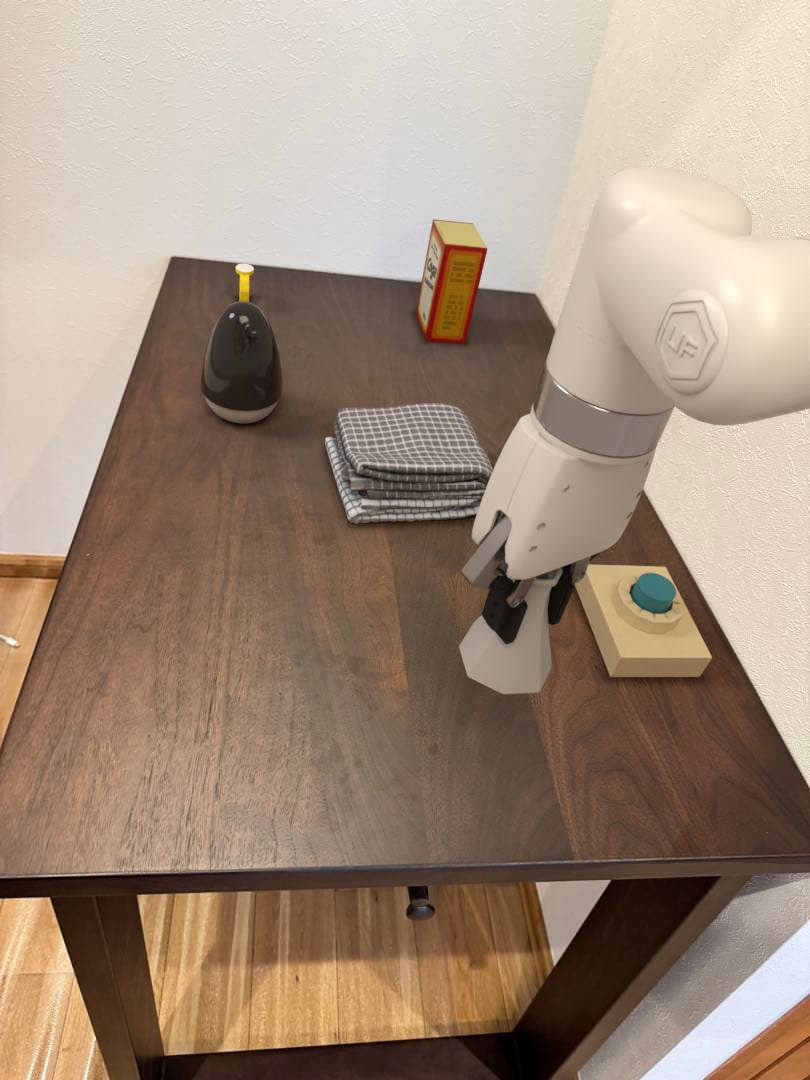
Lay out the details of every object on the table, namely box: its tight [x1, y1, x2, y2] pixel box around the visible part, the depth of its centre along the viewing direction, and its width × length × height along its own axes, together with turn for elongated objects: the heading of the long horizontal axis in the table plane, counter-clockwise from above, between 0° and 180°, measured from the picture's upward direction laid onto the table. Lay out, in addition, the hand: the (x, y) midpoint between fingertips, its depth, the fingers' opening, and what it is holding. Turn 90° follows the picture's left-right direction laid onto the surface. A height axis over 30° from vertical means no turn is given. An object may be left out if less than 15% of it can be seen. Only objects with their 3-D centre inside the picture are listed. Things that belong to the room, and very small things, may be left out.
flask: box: [458, 567, 563, 695], centre depth 57 cm, size 7×7×10 cm
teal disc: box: [631, 573, 676, 614], centre depth 81 cm, size 4×4×2 cm
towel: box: [324, 402, 494, 525], centre depth 94 cm, size 15×18×8 cm
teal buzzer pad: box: [574, 563, 713, 678], centre depth 83 cm, size 13×10×5 cm
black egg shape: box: [200, 300, 284, 424], centre depth 97 cm, size 10×10×15 cm
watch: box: [235, 263, 255, 302], centre depth 122 cm, size 6×3×6 cm, turn 9°
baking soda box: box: [415, 218, 488, 344], centre depth 124 cm, size 10×6×16 cm
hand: (520, 618), depth 57 cm, fingers closed on flask, 3 cm apart
